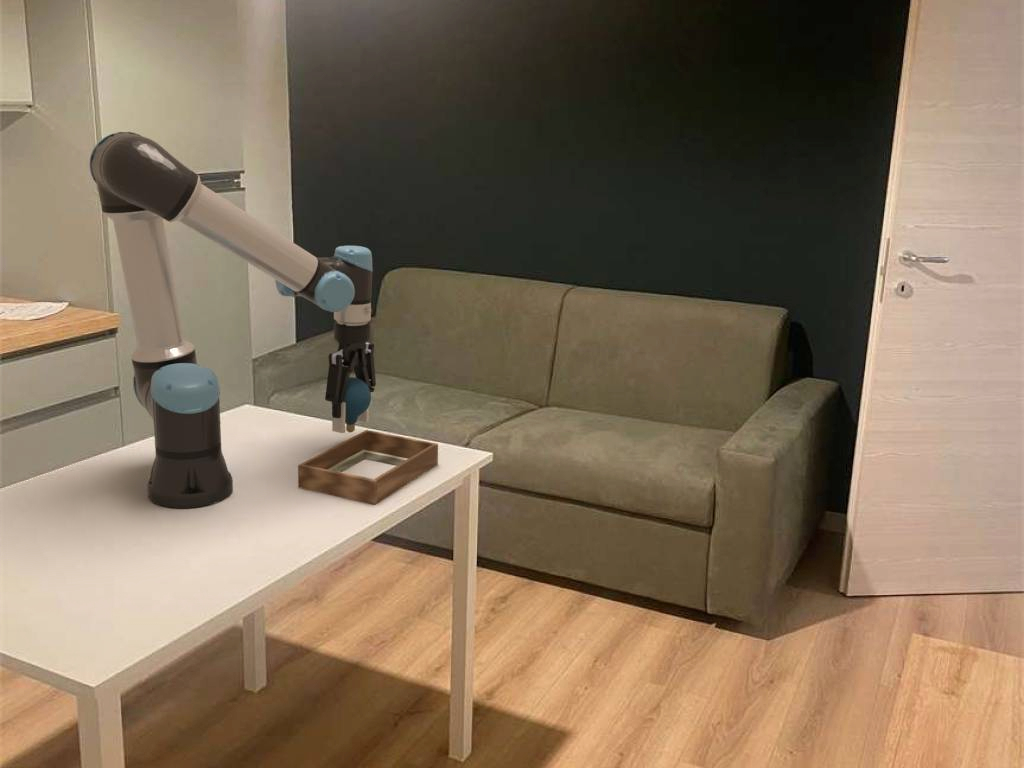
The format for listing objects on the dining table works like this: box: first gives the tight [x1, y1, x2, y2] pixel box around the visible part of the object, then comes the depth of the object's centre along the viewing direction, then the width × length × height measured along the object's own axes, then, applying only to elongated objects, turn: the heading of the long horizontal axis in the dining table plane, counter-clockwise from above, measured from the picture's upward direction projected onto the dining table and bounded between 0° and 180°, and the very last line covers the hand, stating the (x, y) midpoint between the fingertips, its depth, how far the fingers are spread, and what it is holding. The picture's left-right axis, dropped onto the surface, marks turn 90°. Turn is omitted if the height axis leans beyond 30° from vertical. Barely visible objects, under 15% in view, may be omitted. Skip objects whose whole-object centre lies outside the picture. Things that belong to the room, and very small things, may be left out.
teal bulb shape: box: [343, 376, 372, 433], centre depth 222 cm, size 8×8×12 cm
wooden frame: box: [297, 429, 439, 505], centre depth 207 cm, size 17×24×4 cm
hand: (350, 426), depth 223 cm, fingers closed on teal bulb shape, 8 cm apart
